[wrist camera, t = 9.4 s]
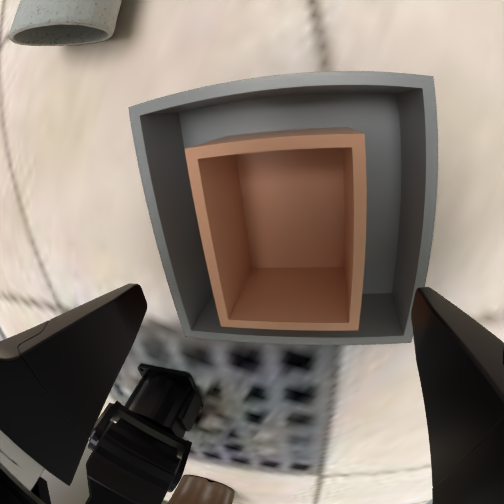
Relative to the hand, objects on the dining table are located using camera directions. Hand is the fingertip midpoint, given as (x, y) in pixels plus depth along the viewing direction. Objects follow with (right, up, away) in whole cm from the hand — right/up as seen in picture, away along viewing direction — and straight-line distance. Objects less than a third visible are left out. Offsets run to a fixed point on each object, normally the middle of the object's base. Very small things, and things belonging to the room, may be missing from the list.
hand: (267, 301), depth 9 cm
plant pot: (-10, -50, +40) cm, 65 cm away
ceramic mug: (-13, +20, +5) cm, 24 cm away
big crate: (+2, +5, +9) cm, 11 cm away
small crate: (+2, +4, +9) cm, 10 cm away
